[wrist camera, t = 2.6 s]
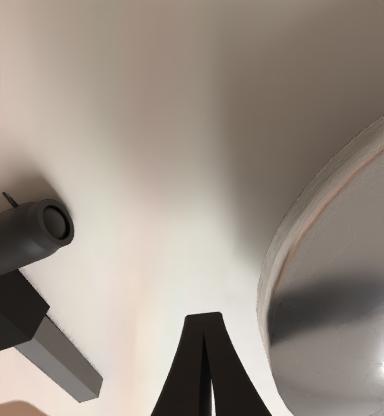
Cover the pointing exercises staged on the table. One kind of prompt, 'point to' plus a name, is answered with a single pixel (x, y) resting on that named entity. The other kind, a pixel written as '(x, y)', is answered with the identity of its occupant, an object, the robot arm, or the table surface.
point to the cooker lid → (330, 288)
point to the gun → (38, 296)
